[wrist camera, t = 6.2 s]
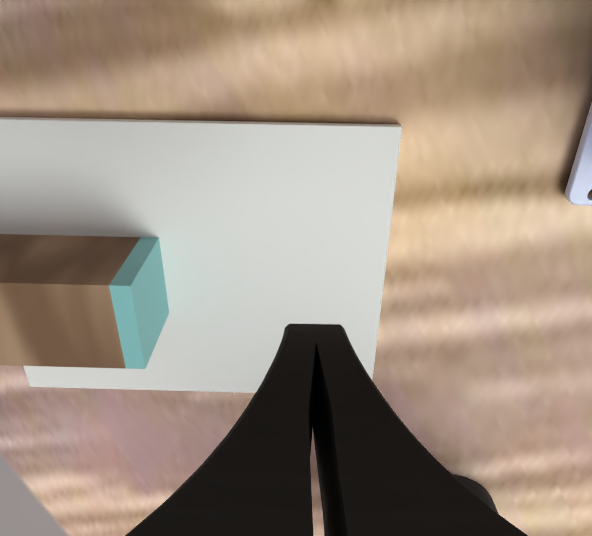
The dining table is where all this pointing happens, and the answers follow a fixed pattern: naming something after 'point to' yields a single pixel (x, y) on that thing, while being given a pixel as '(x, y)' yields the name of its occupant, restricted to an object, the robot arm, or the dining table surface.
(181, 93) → the dining table surface
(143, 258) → the walnut block
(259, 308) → the grey mat
